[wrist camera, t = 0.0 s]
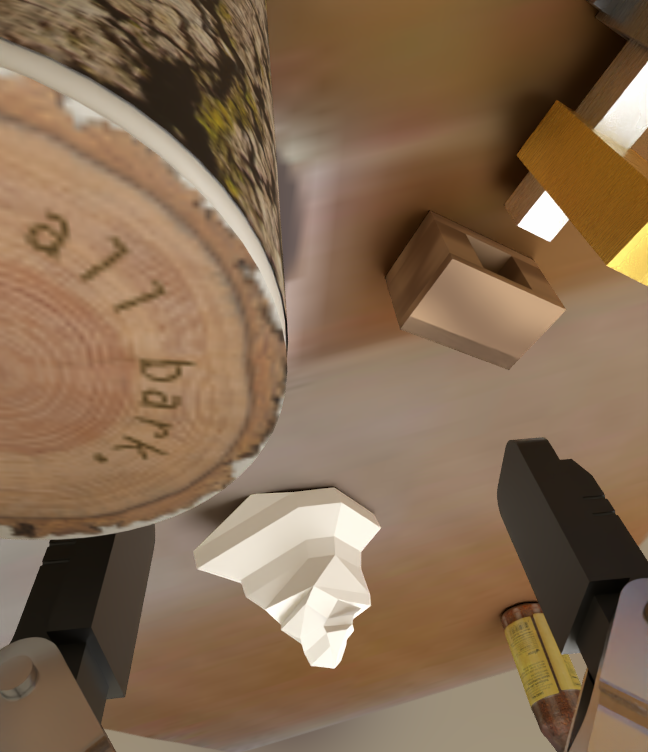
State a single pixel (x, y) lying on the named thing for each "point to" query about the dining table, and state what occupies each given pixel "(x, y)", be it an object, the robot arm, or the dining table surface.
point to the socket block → (470, 293)
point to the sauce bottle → (543, 671)
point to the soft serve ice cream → (298, 563)
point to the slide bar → (593, 168)
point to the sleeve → (625, 18)
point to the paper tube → (135, 260)
